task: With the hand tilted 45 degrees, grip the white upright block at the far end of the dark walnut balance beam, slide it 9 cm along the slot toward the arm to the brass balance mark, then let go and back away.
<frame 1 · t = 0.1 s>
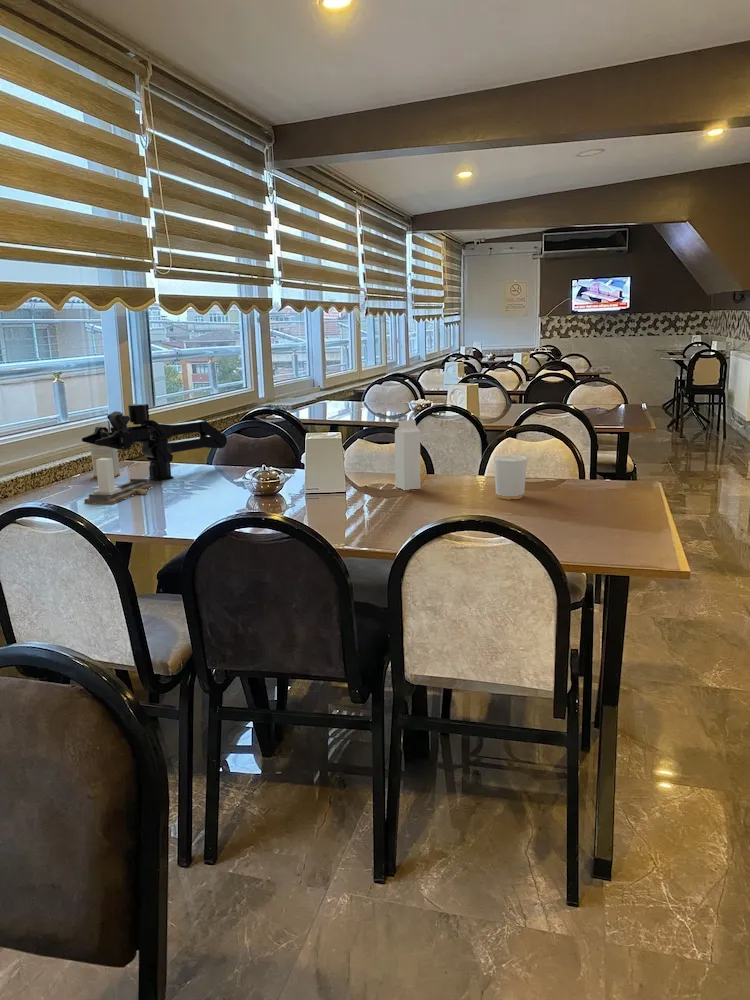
hand: (88, 441, 248), 17 cm above the table, tool horizontal, fingers open, 9 cm apart
milk: (408, 489, 245), on the table
supplement box: (107, 476, 276), on the table
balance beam: (120, 495, 245), on the table
white upright block: (105, 477, 236), point 7 cm above the table, slide at 7.0 cm
candle holder: (509, 497, 231), on the table
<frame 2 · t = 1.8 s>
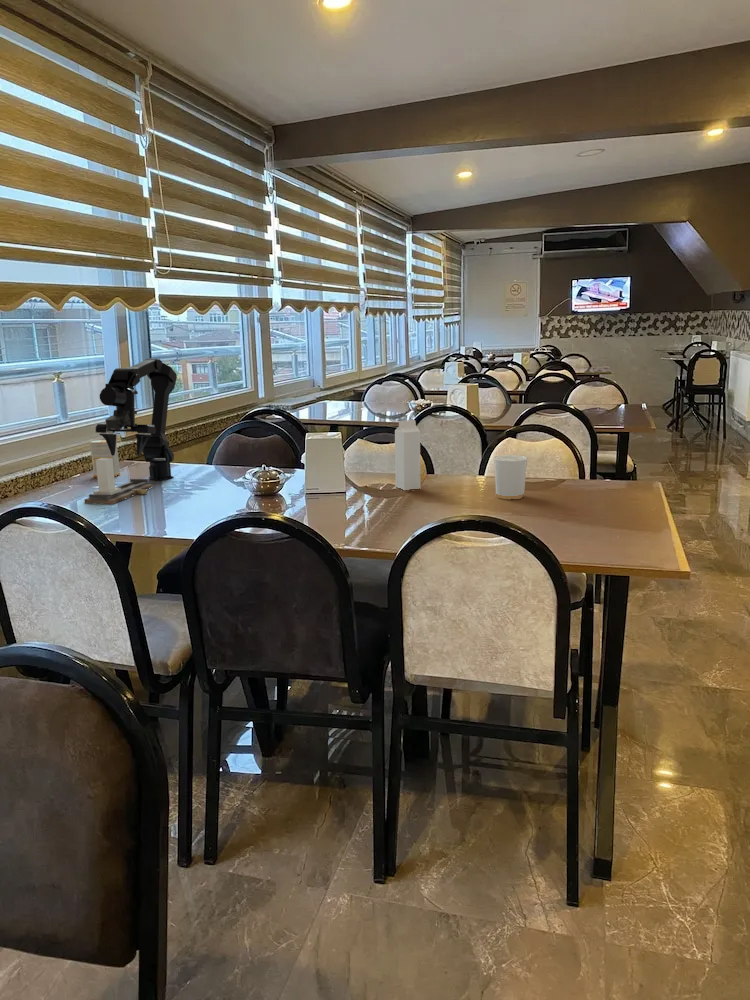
hand: (125, 455, 247), 12 cm above the table, tool pointing down, fingers open, 9 cm apart
nothing on the table moved.
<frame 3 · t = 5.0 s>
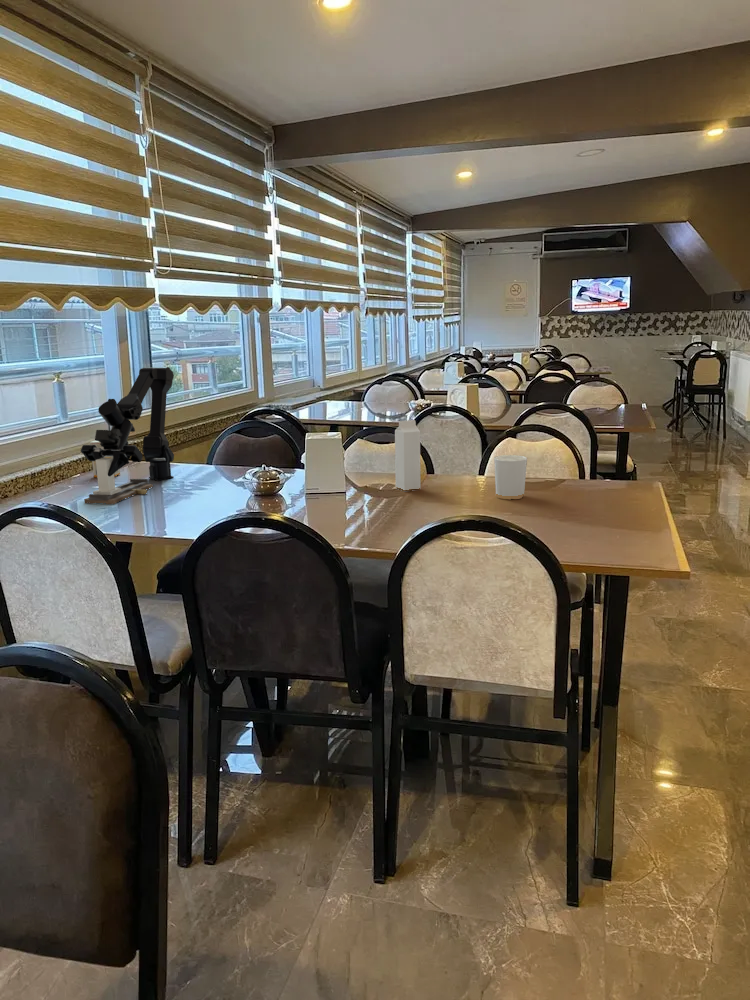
hand: (103, 475, 235), 8 cm above the table, tool tilted 45°, fingers closed on white upright block, 4 cm apart
white upright block: (105, 477, 236), point 7 cm above the table, slide at 7.0 cm, touching gripper
everything else where it was.
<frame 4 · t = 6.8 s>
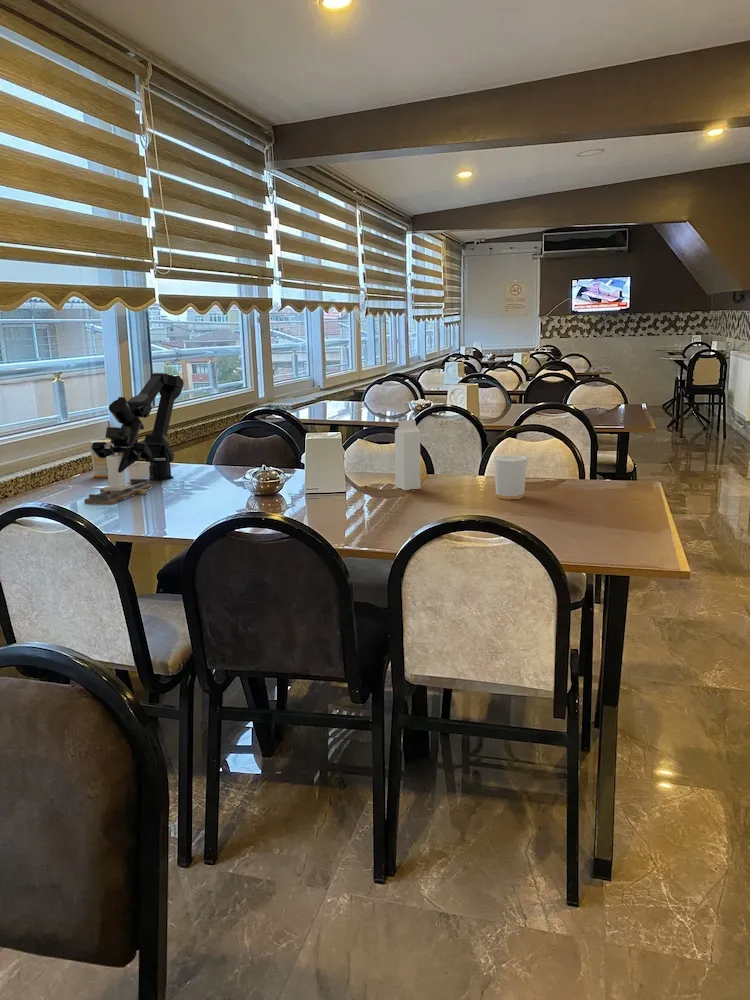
hand: (113, 472, 240), 8 cm above the table, tool tilted 45°, fingers closed on white upright block, 4 cm apart
white upright block: (116, 473, 242), point 7 cm above the table, slide at 1.1 cm, touching gripper
everything else where it was.
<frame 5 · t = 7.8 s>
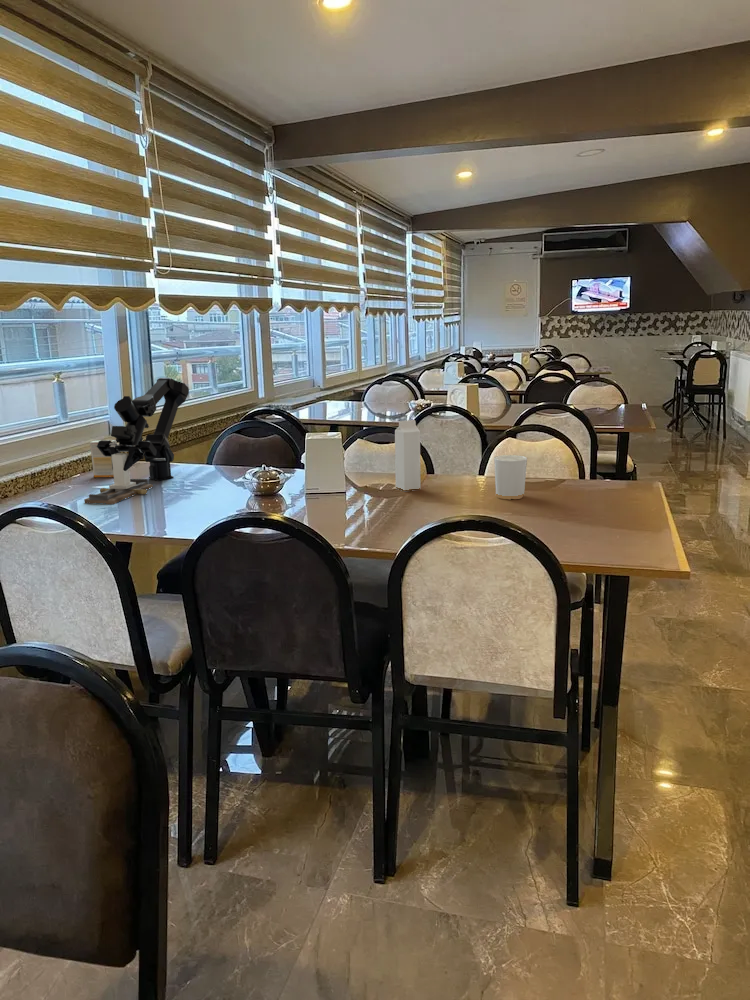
hand: (118, 470, 243), 8 cm above the table, tool tilted 45°, fingers closed on white upright block, 4 cm apart
white upright block: (121, 472, 245), point 7 cm above the table, slide at -2.0 cm, touching gripper
everything else where it was.
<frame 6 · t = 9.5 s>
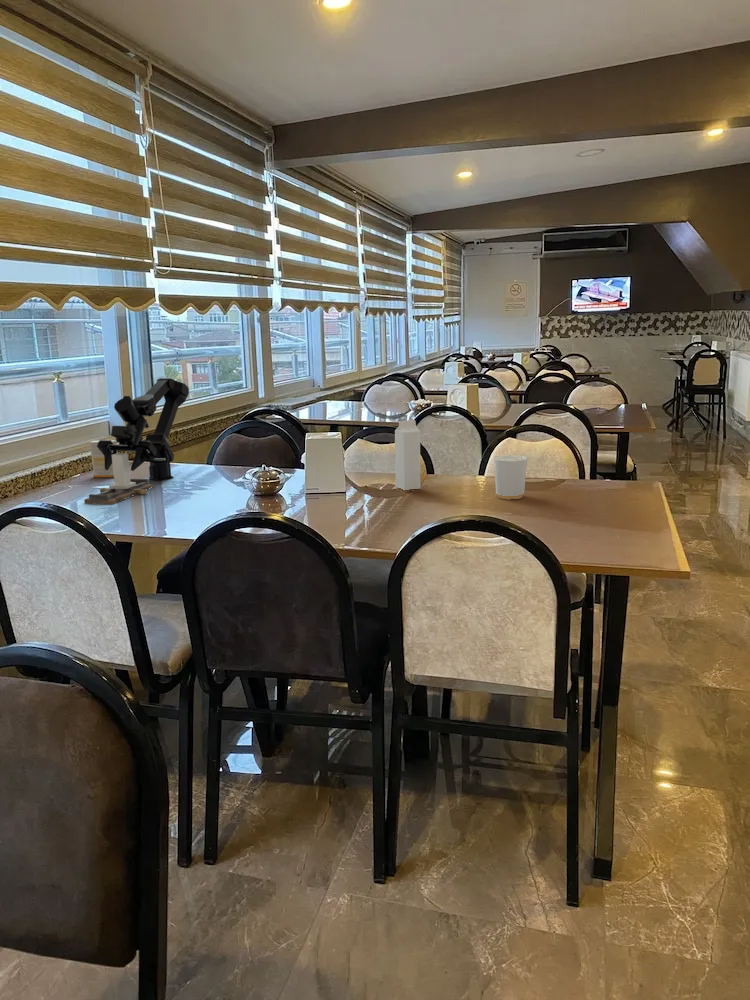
hand: (118, 469, 243), 8 cm above the table, tool tilted 45°, fingers open, 9 cm apart
white upright block: (121, 472, 245), point 7 cm above the table, slide at -2.0 cm
everything else where it was.
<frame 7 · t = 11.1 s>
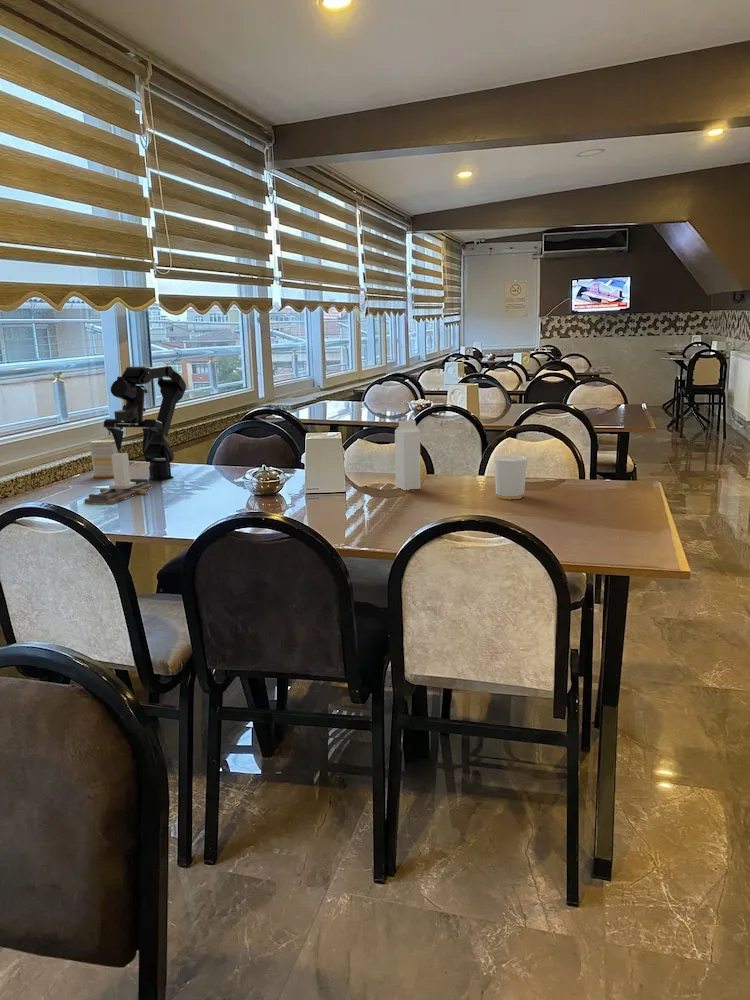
hand: (131, 450, 250), 13 cm above the table, tool tilted 20°, fingers open, 9 cm apart
nothing on the table moved.
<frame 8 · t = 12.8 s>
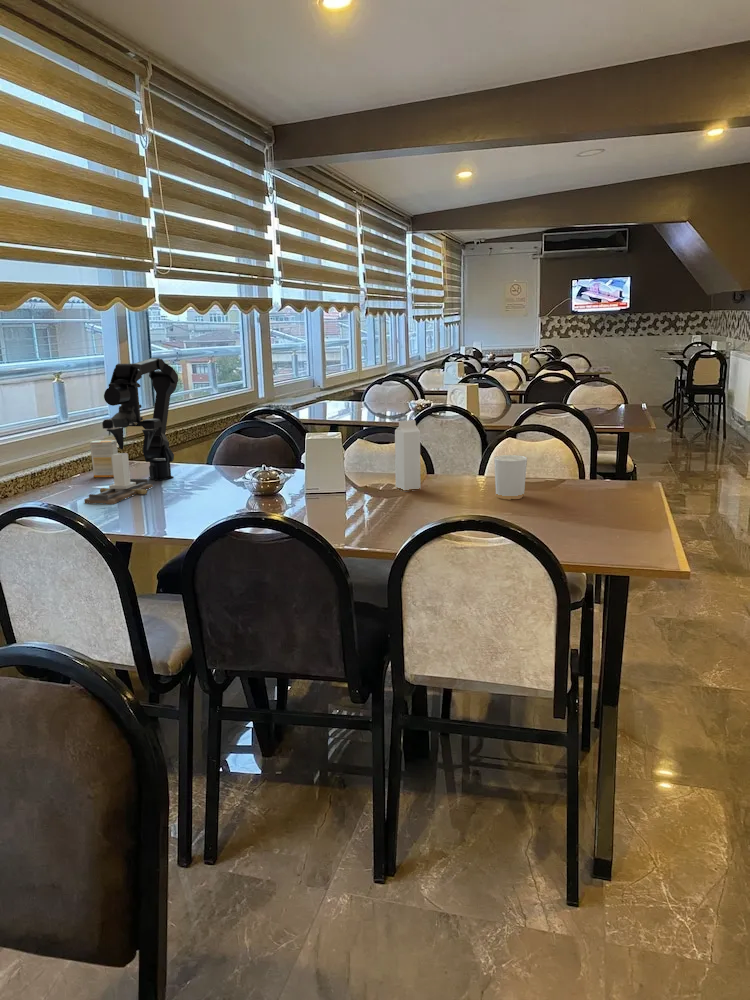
hand: (134, 449, 252), 13 cm above the table, tool pointing down, fingers open, 9 cm apart
nothing on the table moved.
at the end: white upright block slide at -2.0 cm; the gripper is holding nothing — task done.
